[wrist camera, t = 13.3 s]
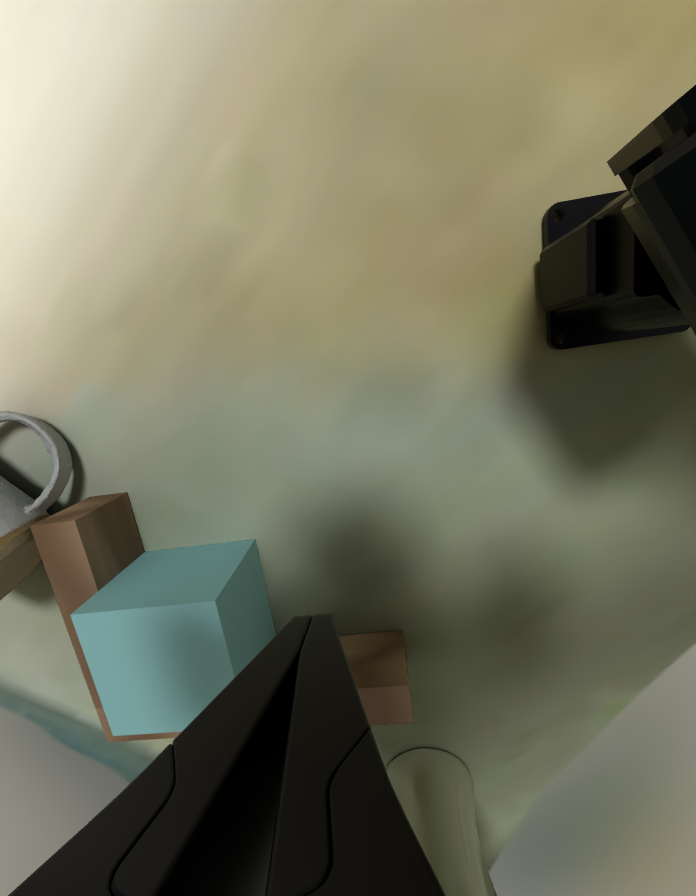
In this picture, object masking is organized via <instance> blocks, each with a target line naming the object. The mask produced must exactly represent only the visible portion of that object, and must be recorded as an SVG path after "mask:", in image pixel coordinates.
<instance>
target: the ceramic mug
mask: <svg viewBox="0 0 696 896" xmlns="http://www.w3.org/2000/svg"><path fill="white" fill-rule="evenodd" d="M5 421H18V422H20V423H23V424H25V425H27V426H28V427H29V428H31V429H32V430H33V431H34V432H36V433H37V434H38V435H39V436H40V437H41V438H42V440H43V441H44V444H45V447H46V449H47V451H48V452H49V453H51V454H52V456H51V459H52V461H53V463H54V464H53V466H54V469H53V472H52V475H51V478H50V482H49V483H48V484H47V486H46V487H45V489H44V490H43V492H42V494H41V495H40V496H39V497H38V498H37V499H36V500H33V499H32V498H31V497H29V496H28V495H26V494H25V493H24V492H22V491H21V490H19V489H18V488H17V487H15V486H14V485H12V484H11V483H9V482H8V481H7V480H5V479H4V478H3V477H2V476H0V600H1V599H2V598H4V597H5V596H6V595H7V594H8V593H9V592H11V591H12V590H13V589H14V588H15V587H16V586H17V585H18V584H19V583H20V582H22V581H23V580H24V579H25V578H26V577H27V576H28V575H29V574H30V573H31V572H32V571H33V570H34V569H35V567H36V566H37V565H38V564H39V563H40V561H41V560H42V559H41V556H40V553H39V550H38V547H37V545H36V542H35V539H34V536H33V534H32V531H31V528H30V526H31V525H33V524H35V523H37V522H39V521H41V520H43V519H45V518H47V517H49V516H50V515H49V514H48V513H47V512H46V509H48V508H49V507H50V506H51V505H52V504H53V503H54V502H55V501H56V500H57V499H58V498H59V497H60V495H61V494H62V492H63V490H64V488H65V486H66V484H67V483H68V480H69V477H70V475H71V470H72V457H71V454H70V451H69V448H68V446H67V444H66V442H65V440H64V439H63V438H62V437H61V435H60V434H59V433H58V432H57V431H55V430H54V429H53V428H52V427H51V426H49V425H48V424H46V423H44V422H43V421H41V420H39V419H36V418H33V417H31V416H27V415H24V414H20V413H15V412H9V411H0V422H5Z"/></svg>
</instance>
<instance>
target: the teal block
mask: <svg viewBox="0 0 696 896" xmlns="http://www.w3.org/2000/svg"><path fill="white" fill-rule="evenodd" d="M70 616H71V619H72V622H73V624H74V627H75V630H76V633H77V636H78V639H79V641H80V644H81V647H82V650H83V653H84V655H85V658H86V661H87V664H88V667H89V670H90V672H91V675H92V678H93V681H94V684H95V686H96V689H97V692H98V695H99V698H100V701H101V703H102V706H103V709H104V712H105V715H106V717H107V720H108V723H109V726H110V729H111V732H112V734H113V736H122V735H137V734H153V733H168V732H182V731H183V730H184V729H185V728H186V727H187V726H188V725H189V724H190V723H191V722H192V721H193V720H194V719H195V718H196V717H197V716H198V715H199V714H200V713H201V712H202V710H203V709H204V708H205V707H206V706H207V705H208V704H209V703H210V702H211V701H212V700H213V699H214V698H215V697H216V696H217V695H218V694H219V693H220V692H221V691H222V690H223V689H224V688H225V687H226V686H227V685H228V684H229V683H230V682H231V681H232V680H233V679H234V678H235V677H236V676H237V675H238V674H239V673H240V672H241V671H242V670H243V669H244V667H245V666H246V665H247V664H248V663H249V662H250V661H251V660H252V659H253V658H254V657H255V656H256V655H257V654H258V653H259V652H260V651H261V650H262V649H263V648H264V647H265V646H266V645H267V644H268V643H269V642H270V641H271V640H272V639H273V638H274V637H275V636H276V632H275V627H274V623H273V618H272V614H271V609H270V605H269V600H268V596H267V591H266V587H265V582H264V578H263V573H262V568H261V564H260V559H259V555H258V550H257V546H256V541H255V539H253V540H244V541H235V542H226V543H217V544H208V545H200V546H191V547H182V548H173V549H164V550H155V551H146V552H144V553H143V554H142V555H141V556H139V557H138V558H137V559H136V560H135V561H134V562H132V563H131V564H130V565H129V566H128V567H126V568H125V569H124V570H123V571H122V572H120V573H119V574H118V575H117V576H116V577H115V578H113V579H112V580H111V581H110V582H109V583H107V584H106V585H105V586H104V587H103V588H102V589H100V590H99V591H98V592H97V593H96V594H94V595H93V596H92V597H91V598H90V599H88V600H87V601H86V602H85V603H84V604H83V605H81V606H80V607H79V608H78V609H77V610H75V611H74V612H73V613H72V614H71V615H70Z"/></svg>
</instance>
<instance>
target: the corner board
mask: <svg viewBox="0 0 696 896" xmlns="http://www.w3.org/2000/svg"><path fill="white" fill-rule="evenodd" d="M30 528H31V531H32V534H33V536H34V539H35V542H36V545H37V547H38V550H39V553H40V556H41V559H42V561H43V564H44V567H45V570H46V572H47V575H48V578H49V581H50V583H51V586H52V589H53V592H54V595H55V597H56V600H57V603H58V606H59V608H60V611H61V614H62V617H63V619H64V622H65V625H66V628H67V631H68V633H69V636H70V639H71V642H72V644H73V647H74V650H75V653H76V655H77V658H78V661H79V664H80V667H81V669H82V672H83V675H84V678H85V680H86V683H87V686H88V689H89V692H90V694H91V697H92V700H93V703H94V705H95V708H96V711H97V714H98V716H99V719H100V722H101V725H102V728H103V730H104V733H105V736H106V739H107V741H108V742H117V741H132V740H148V739H164V738H176V737H177V736H178V735H179V734H180V733H181V732H168V733H153V734H137V735H122V736H113V734H112V732H111V729H110V726H109V723H108V720H107V717H106V715H105V712H104V709H103V706H102V703H101V701H100V698H99V695H98V692H97V689H96V686H95V684H94V681H93V678H92V675H91V672H90V670H89V667H88V664H87V661H86V658H85V655H84V653H83V650H82V647H81V644H80V641H79V639H78V636H77V633H76V630H75V627H74V624H73V622H72V619H71V616H70V615H71V614H72V613H73V612H74V611H75V610H77V609H78V608H79V607H80V606H81V605H83V604H84V603H85V602H86V601H87V600H88V599H90V598H91V597H92V596H93V595H94V594H96V593H97V592H98V591H99V590H100V589H102V588H103V587H104V586H105V585H106V584H107V583H109V582H110V581H111V580H112V579H113V578H115V577H116V576H117V575H118V574H119V573H120V572H122V571H123V570H124V569H125V568H126V567H128V566H129V565H130V564H131V563H132V562H134V561H135V560H136V559H137V558H138V557H139V556H141V555H142V554H143V553H144V549H143V545H142V542H141V538H140V535H139V532H138V528H137V525H136V521H135V518H134V515H133V511H132V508H131V504H130V501H129V498H128V494H127V492H126V493H118V494H110V495H102V496H95V497H89V498H87V499H85V500H83V501H80V502H78V503H76V504H74V505H72V506H70V507H68V508H66V509H64V510H62V511H60V512H58V513H56V514H54V515H52V516H49V517H47V518H45V519H43V520H41V521H39V522H37V523H35V524H33V525H31V526H30ZM339 637H340V640H341V643H342V646H343V649H344V652H345V654H346V657H347V660H348V663H349V666H350V669H351V672H352V675H353V678H354V681H355V684H356V687H357V690H358V693H359V696H360V698H361V701H362V704H363V707H364V710H365V713H366V716H367V719H368V722H369V725H385V724H400V723H414V721H413V712H412V704H411V696H410V687H409V679H408V671H407V662H406V655H405V647H404V640H403V632H402V630H401V631H389V632H377V633H366V634H354V635H342V636H339Z"/></svg>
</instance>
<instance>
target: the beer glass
mask: <svg viewBox="0 0 696 896" xmlns="http://www.w3.org/2000/svg"><path fill="white" fill-rule="evenodd" d="M386 772H387V774H388V777H389V780H390V782H391V784H392V787H393V789H394V791H395V793H396V795H397V797H398V800H399V802H400V804H401V806H402V808H403V810H404V813H405V815H406V817H407V819H408V821H409V823H410V825H411V827H412V829H413V831H414V833H415V835H416V837H417V839H418V841H419V843H420V845H421V847H422V849H423V851H424V853H425V855H426V857H427V859H428V861H429V863H430V865H431V867H432V869H433V871H434V873H435V875H436V877H437V879H438V881H439V883H440V885H441V887H442V889H443V891H444V893H445V895H446V896H497V894H496V891H495V888H494V886H493V883H492V880H491V877H490V874H489V871H488V869H487V866H486V863H485V860H484V856H483V853H482V849H481V846H480V842H479V837H478V832H477V826H476V819H475V805H474V792H473V783H472V778H471V775H470V773H469V771H468V769H467V767H466V766H465V765H464V764H463V762H461V761H460V760H459V759H458V758H457V757H455V756H453V755H452V754H450V753H447V752H445V751H442V750H438V749H432V748H419V749H414V750H410V751H407V752H404V753H402V754H401V755H399V756H397V757H396V758H395V759H394V760H393V761H392V762H391V763H390V764H389V765H388V767H387V768H386Z"/></svg>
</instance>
